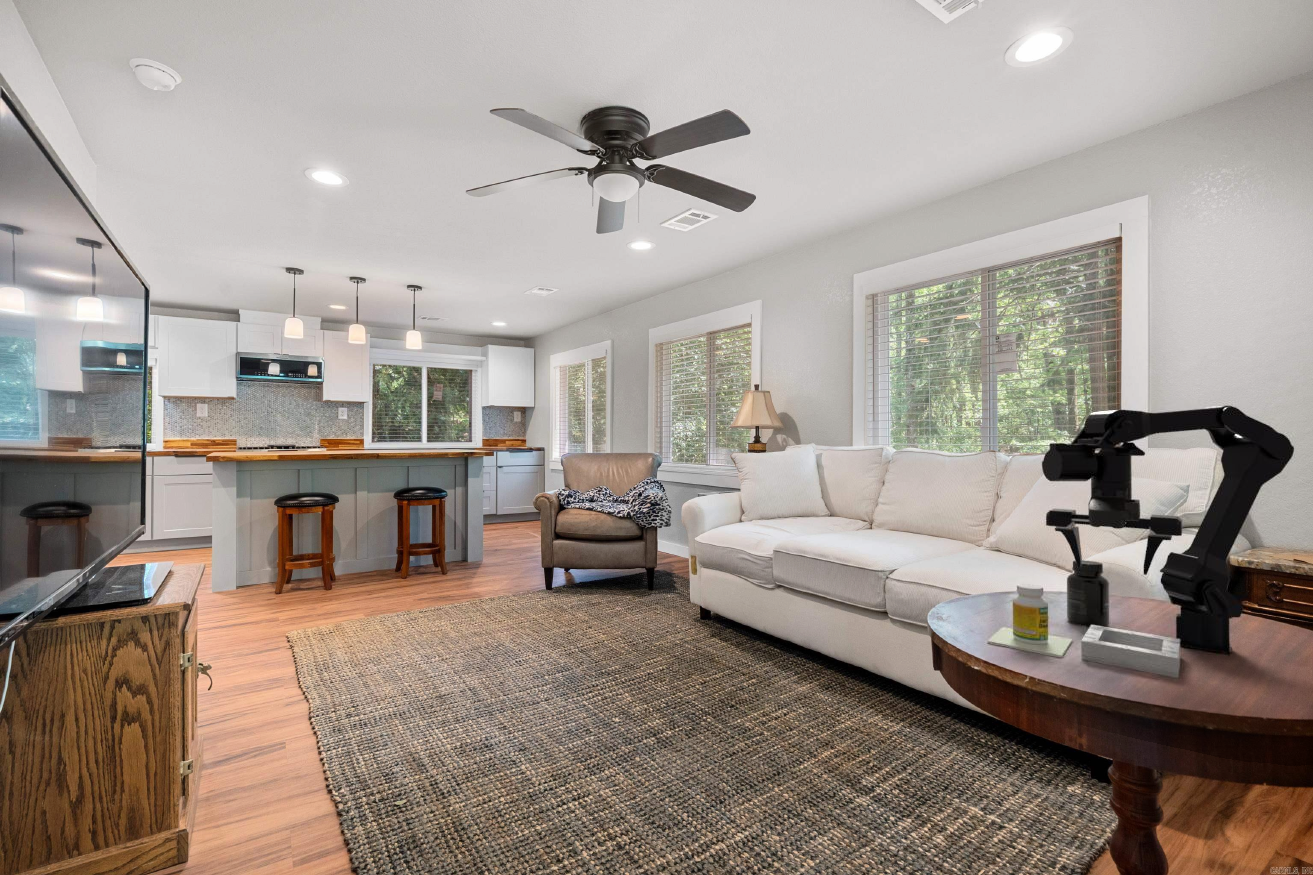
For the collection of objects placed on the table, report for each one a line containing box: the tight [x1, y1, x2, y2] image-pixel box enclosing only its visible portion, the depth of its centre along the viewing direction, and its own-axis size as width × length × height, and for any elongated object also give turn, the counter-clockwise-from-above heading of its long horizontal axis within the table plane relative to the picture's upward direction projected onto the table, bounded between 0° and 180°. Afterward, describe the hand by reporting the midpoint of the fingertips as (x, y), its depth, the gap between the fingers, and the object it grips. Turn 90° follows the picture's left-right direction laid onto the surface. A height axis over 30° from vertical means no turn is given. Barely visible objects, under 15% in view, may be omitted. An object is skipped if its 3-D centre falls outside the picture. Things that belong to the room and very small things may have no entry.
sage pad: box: [987, 626, 1073, 659], centre depth 107 cm, size 11×11×1 cm
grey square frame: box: [1080, 625, 1181, 679], centre depth 99 cm, size 12×12×3 cm
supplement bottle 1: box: [1012, 583, 1049, 644], centre depth 107 cm, size 5×5×10 cm
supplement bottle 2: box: [1066, 559, 1110, 628], centre depth 119 cm, size 7×7×12 cm
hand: (1111, 570), depth 106 cm, fingers open, 9 cm apart
